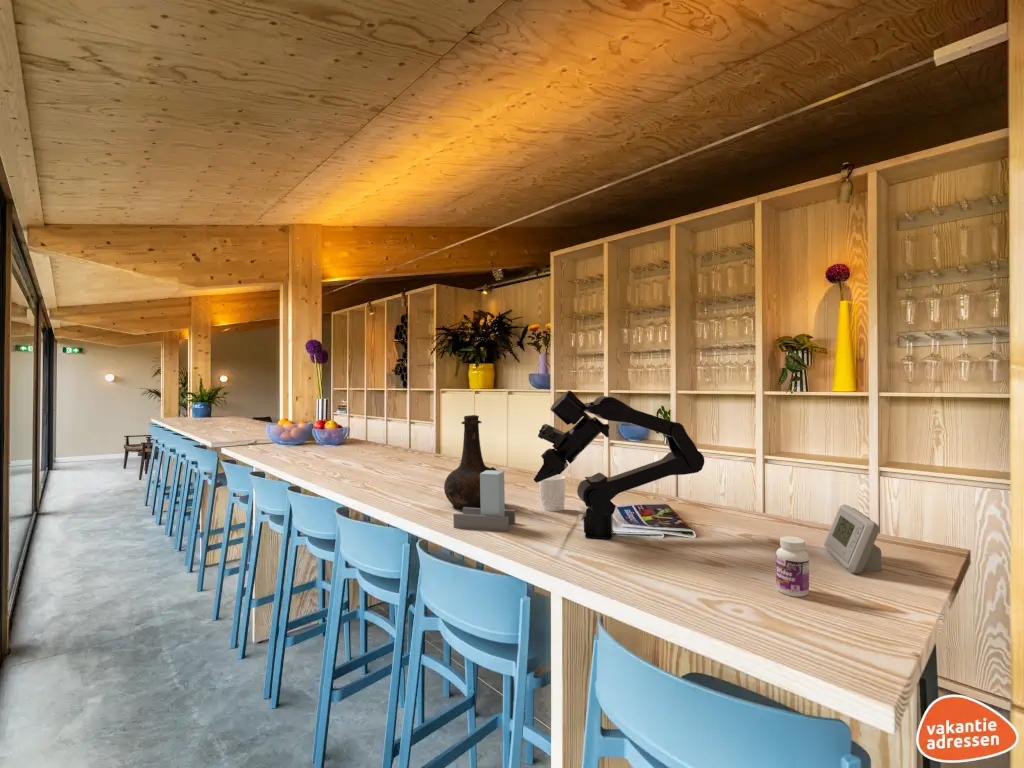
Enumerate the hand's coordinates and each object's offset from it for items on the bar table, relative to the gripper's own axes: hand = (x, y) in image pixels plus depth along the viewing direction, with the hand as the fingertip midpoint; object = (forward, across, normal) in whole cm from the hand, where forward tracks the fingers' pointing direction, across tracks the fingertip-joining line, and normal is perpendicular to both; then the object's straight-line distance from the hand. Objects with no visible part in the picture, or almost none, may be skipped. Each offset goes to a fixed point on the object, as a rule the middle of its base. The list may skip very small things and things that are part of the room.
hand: (537, 479), depth 136 cm
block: (+18, 0, 0) cm, 18 cm away
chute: (+20, 0, 0) cm, 20 cm away
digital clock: (-38, +6, +58) cm, 70 cm away
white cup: (+10, -21, +9) cm, 25 cm away
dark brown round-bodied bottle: (+27, -20, -8) cm, 35 cm away
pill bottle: (-28, +25, +48) cm, 61 cm away
